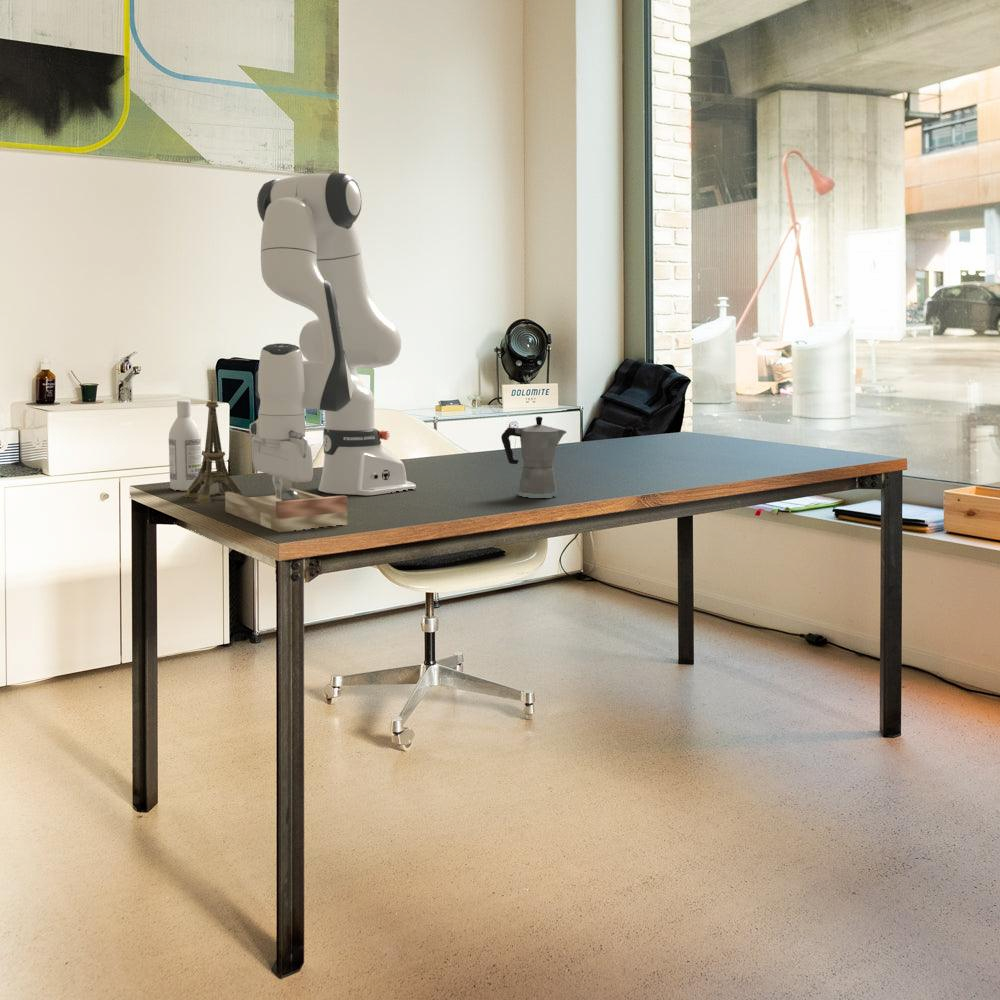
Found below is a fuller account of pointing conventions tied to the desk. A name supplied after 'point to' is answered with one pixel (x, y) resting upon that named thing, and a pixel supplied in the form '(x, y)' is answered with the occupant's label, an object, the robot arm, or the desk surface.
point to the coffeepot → (535, 456)
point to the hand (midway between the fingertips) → (282, 499)
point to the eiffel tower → (209, 455)
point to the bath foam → (184, 449)
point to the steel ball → (290, 495)
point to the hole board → (289, 510)
